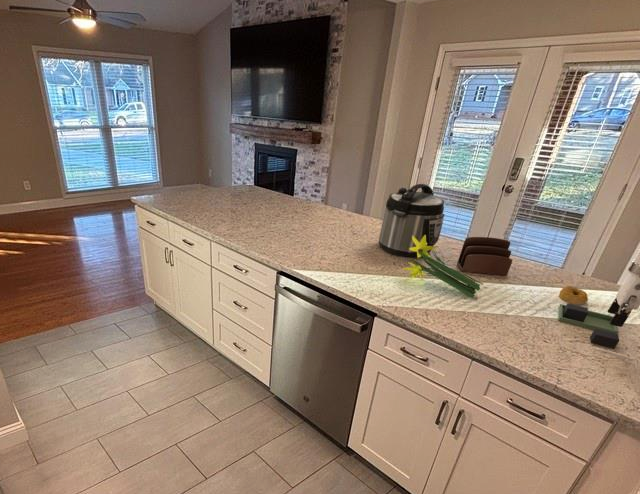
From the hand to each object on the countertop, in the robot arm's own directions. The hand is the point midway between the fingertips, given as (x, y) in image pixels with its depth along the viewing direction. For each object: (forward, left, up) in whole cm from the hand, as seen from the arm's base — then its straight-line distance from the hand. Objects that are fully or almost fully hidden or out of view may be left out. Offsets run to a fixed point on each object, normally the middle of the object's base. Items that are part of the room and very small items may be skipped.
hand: (614, 319), depth 134 cm
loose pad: (0, 0, -10) cm, 10 cm away
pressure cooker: (+81, -53, -10) cm, 97 cm away
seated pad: (+8, -16, -9) cm, 20 cm away
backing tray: (+4, -16, -10) cm, 19 cm away
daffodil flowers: (+57, -17, -10) cm, 60 cm away
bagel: (+8, -35, -10) cm, 37 cm away
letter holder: (+44, -48, -10) cm, 66 cm away
